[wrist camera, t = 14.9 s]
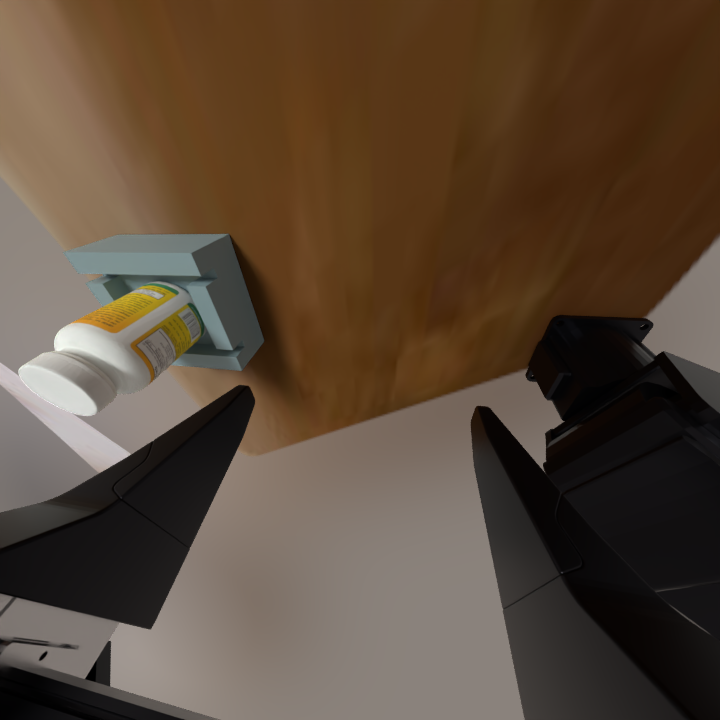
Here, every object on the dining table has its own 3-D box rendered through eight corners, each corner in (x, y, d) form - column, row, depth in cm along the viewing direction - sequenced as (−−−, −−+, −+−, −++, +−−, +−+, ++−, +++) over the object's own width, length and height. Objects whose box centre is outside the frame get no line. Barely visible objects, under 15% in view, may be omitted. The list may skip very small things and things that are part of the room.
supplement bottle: (221, 317, 22) (123, 407, 14) (192, 346, 24) (97, 434, 17) (160, 264, 20) (7, 338, 12) (135, 302, 22) (-2, 381, 15)
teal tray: (228, 234, 20) (191, 253, 17) (264, 341, 27) (242, 370, 23) (118, 234, 22) (62, 252, 18) (176, 335, 28) (143, 362, 25)
